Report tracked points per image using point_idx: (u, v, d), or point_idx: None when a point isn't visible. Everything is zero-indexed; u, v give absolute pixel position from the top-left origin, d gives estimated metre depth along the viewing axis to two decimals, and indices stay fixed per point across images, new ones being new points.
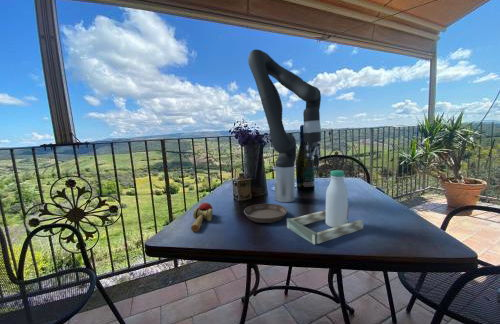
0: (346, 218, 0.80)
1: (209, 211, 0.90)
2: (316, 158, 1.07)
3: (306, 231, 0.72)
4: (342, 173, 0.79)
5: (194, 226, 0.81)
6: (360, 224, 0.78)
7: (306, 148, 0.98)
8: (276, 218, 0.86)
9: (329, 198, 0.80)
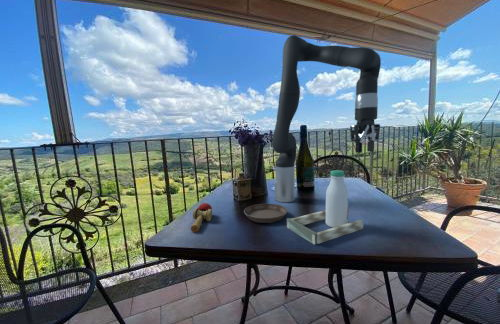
0: (346, 218, 0.80)
1: (209, 211, 0.90)
2: (370, 142, 0.87)
3: (306, 231, 0.72)
4: (342, 173, 0.79)
5: (194, 226, 0.81)
6: (360, 224, 0.78)
7: (352, 128, 0.83)
8: (276, 218, 0.86)
9: (329, 198, 0.80)
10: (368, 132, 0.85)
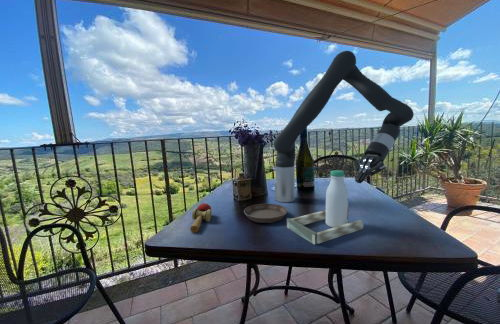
0: (346, 218, 0.80)
1: (208, 212, 0.89)
2: None
3: (306, 231, 0.72)
4: (342, 173, 0.79)
5: (193, 227, 0.81)
6: (360, 224, 0.78)
7: (381, 167, 0.82)
8: (276, 218, 0.86)
9: (329, 198, 0.80)
10: None
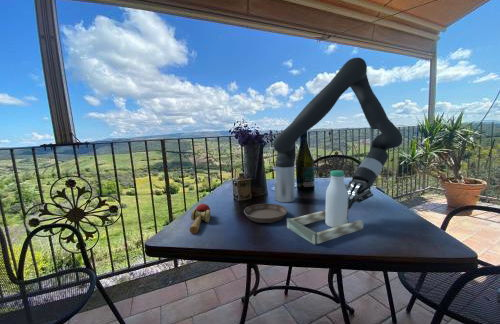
0: (346, 218, 0.80)
1: (207, 212, 0.89)
2: None
3: (306, 231, 0.72)
4: (342, 173, 0.79)
5: (193, 228, 0.80)
6: (360, 224, 0.78)
7: (368, 194, 0.81)
8: (276, 218, 0.86)
9: (329, 198, 0.80)
10: None
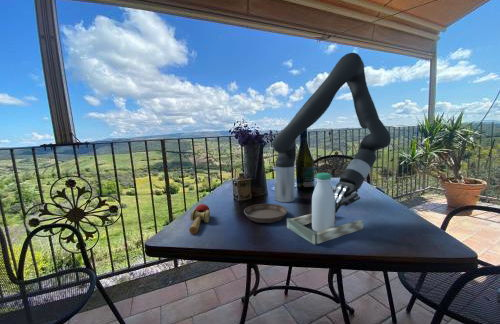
0: (333, 223, 0.76)
1: (207, 212, 0.89)
2: None
3: (306, 231, 0.72)
4: (328, 176, 0.75)
5: (192, 228, 0.80)
6: (360, 224, 0.78)
7: (355, 197, 0.78)
8: (276, 218, 0.86)
9: (316, 202, 0.76)
10: None
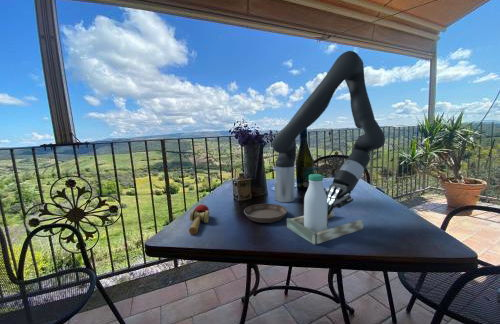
0: (326, 225, 0.74)
1: (206, 213, 0.88)
2: None
3: (306, 231, 0.72)
4: (321, 177, 0.73)
5: (192, 228, 0.79)
6: (360, 224, 0.78)
7: (348, 199, 0.76)
8: (276, 218, 0.86)
9: (308, 204, 0.74)
10: None
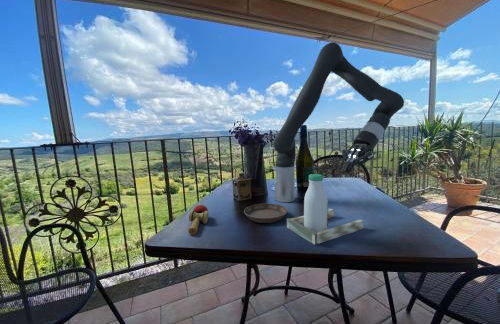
0: (326, 225, 0.75)
1: (205, 213, 0.88)
2: None
3: (306, 231, 0.72)
4: (321, 177, 0.73)
5: (191, 229, 0.79)
6: (360, 224, 0.78)
7: (369, 156, 0.79)
8: (276, 218, 0.86)
9: (308, 204, 0.74)
10: None
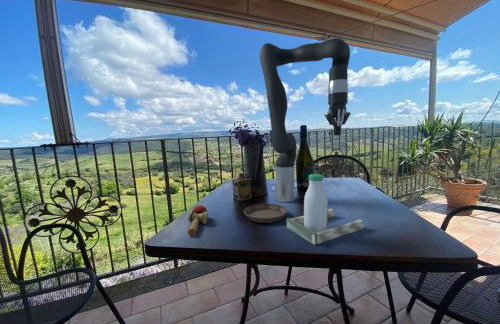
0: (326, 225, 0.75)
1: (205, 214, 0.87)
2: None
3: (306, 231, 0.72)
4: (321, 177, 0.73)
5: (191, 230, 0.78)
6: (360, 224, 0.78)
7: (326, 116, 0.92)
8: (276, 218, 0.86)
9: (308, 204, 0.74)
10: None
